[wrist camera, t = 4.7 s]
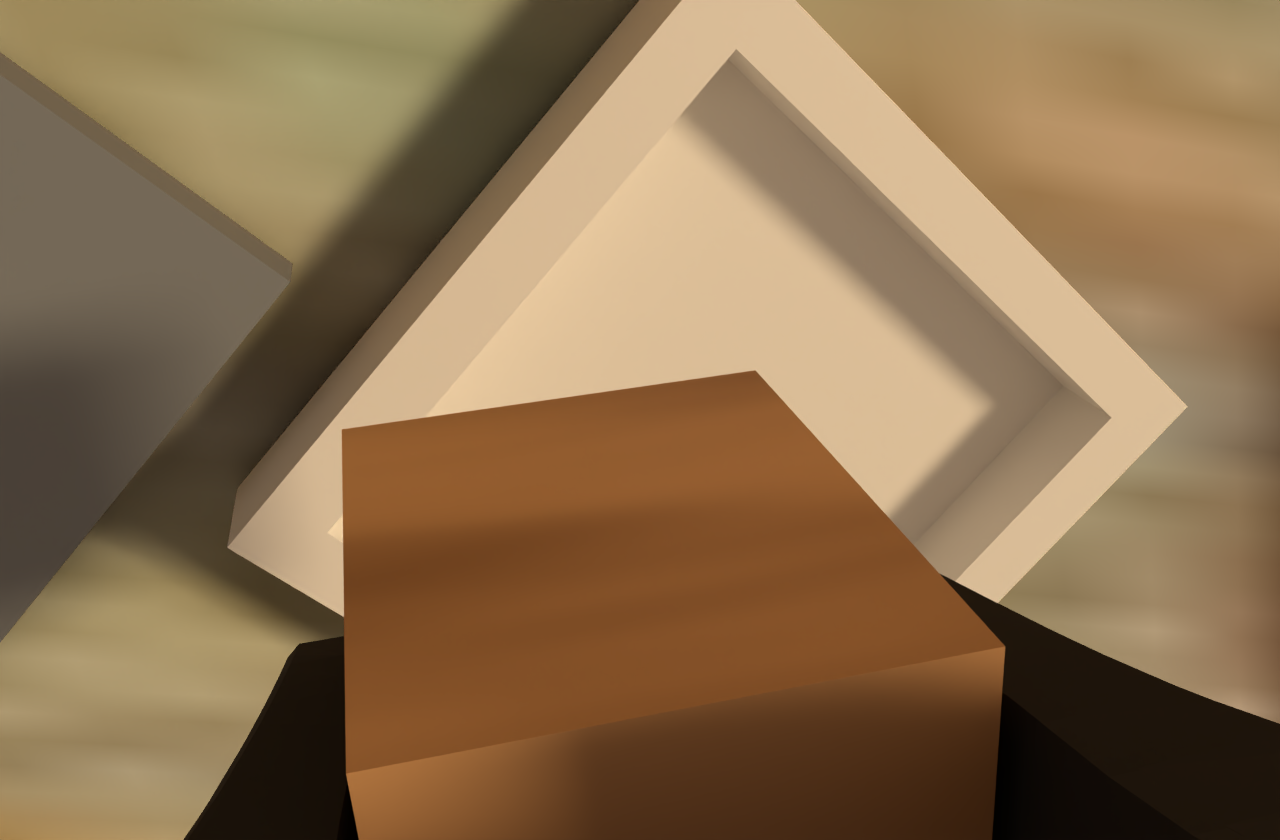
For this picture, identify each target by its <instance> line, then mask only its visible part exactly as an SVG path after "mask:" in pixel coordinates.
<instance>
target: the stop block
mask: <svg viewBox="0 0 1280 840" xmlns="http://www.w3.org/2000/svg"><path fill="white" fill-rule="evenodd" d="M342 498H343V576H344V654H345V733H346V776H347V781H348V786H349V792H350V797H351V802H352V807H353V812H354V817H355V822H356V827H357V832H358V838H359V840H992V832H993V818H994V803H995V789H996V774H997V760H998V745H999V731H1000V716H1001V702H1002V687H1003V673H1004V658H1005V646H1004V644H1003V643H1002V642H1001V641H1000V640H999V639H998V638H997V637H996V636H995V635H994V633H993V632H992V631H991V630H990V629H989V628H988V627H987V626H986V625H985V623H984V622H983V621H982V620H981V619H980V618H979V617H978V616H977V615H976V614H975V612H974V611H973V610H972V609H971V608H970V607H969V606H968V605H967V604H966V602H965V601H964V600H963V599H962V598H961V597H960V596H959V595H958V594H957V593H956V591H955V590H954V589H953V588H952V587H951V586H950V585H949V584H948V583H947V581H946V580H945V579H944V578H943V577H942V576H941V575H940V574H939V573H938V571H937V570H936V569H935V568H934V567H933V566H932V565H931V564H930V563H929V562H928V560H927V559H926V558H925V557H924V556H923V555H922V554H921V553H920V552H919V550H918V549H917V548H916V547H915V546H914V545H913V544H912V543H911V542H910V541H909V539H908V538H907V537H906V536H905V535H904V534H903V533H902V532H901V531H900V529H899V528H898V527H897V526H896V525H895V524H894V523H893V522H892V521H891V520H890V518H889V517H888V516H887V515H886V514H885V513H884V512H883V511H882V510H881V508H880V507H879V506H878V505H877V504H876V503H875V502H874V501H873V500H872V499H871V497H870V496H869V495H868V494H867V493H866V492H865V491H864V490H863V489H862V487H861V486H860V485H859V484H858V483H857V482H856V481H855V480H854V479H853V478H852V476H851V475H850V474H849V473H848V472H847V471H846V470H845V469H844V468H843V466H842V465H841V464H840V463H839V462H838V461H837V460H836V459H835V458H834V457H833V455H832V454H831V453H830V452H829V451H828V450H827V449H826V448H825V447H824V445H823V444H822V443H821V442H820V441H819V440H818V439H817V438H816V437H815V436H814V434H813V433H812V432H811V431H810V430H809V429H808V428H807V427H806V426H805V424H804V423H803V422H802V421H801V420H800V419H799V418H798V417H797V416H796V415H795V413H794V412H793V411H792V410H791V409H790V408H789V407H788V406H787V405H786V403H785V402H784V401H783V400H782V399H781V398H780V397H779V396H778V395H777V393H776V392H775V391H774V390H773V389H772V388H771V387H770V386H769V385H768V384H767V382H766V381H765V380H764V379H763V378H762V377H761V376H760V375H759V374H758V372H757V371H756V370H754V371H747V372H740V373H733V374H726V375H719V376H712V377H705V378H698V379H691V380H684V381H677V382H670V383H663V384H656V385H649V386H642V387H635V388H628V389H621V390H614V391H607V392H600V393H593V394H586V395H579V396H572V397H565V398H558V399H551V400H544V401H537V402H530V403H523V404H516V405H509V406H502V407H495V408H488V409H481V410H474V411H467V412H460V413H453V414H446V415H439V416H432V417H425V418H418V419H411V420H404V421H397V422H390V423H383V424H376V425H369V426H362V427H355V428H348V429H342Z"/></svg>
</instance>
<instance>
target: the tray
mask: <svg viewBox="0 0 1280 840" xmlns="http://www.w3.org/2000/svg"><path fill="white" fill-rule="evenodd" d="M754 370H756V371H757V372H758V374H759V375H760V376H761V377H762V378H763V379H764V380H765V381H766V382H767V384H768V385H769V386H770V387H771V388H772V389H773V390H774V391H775V392H776V393H777V395H778V396H779V397H780V398H781V399H782V400H783V401H784V402H785V403H786V405H787V406H788V407H789V408H790V409H791V410H792V411H793V412H794V413H795V415H796V416H797V417H798V418H799V419H800V420H801V421H802V422H803V423H804V424H805V426H806V427H807V428H808V429H809V430H810V431H811V432H812V433H813V434H814V436H815V437H816V438H817V439H818V440H819V441H820V442H821V443H822V444H823V445H824V447H825V448H826V449H827V450H828V451H829V452H830V453H831V454H832V455H833V457H834V458H835V459H836V460H837V461H838V462H839V463H840V464H841V465H842V466H843V468H844V469H845V470H846V471H847V472H848V473H849V474H850V475H851V476H852V478H853V479H854V480H855V481H856V482H857V483H858V484H859V485H860V486H861V487H862V489H863V490H864V491H865V492H866V493H867V494H868V495H869V496H870V497H871V499H872V500H873V501H874V502H875V503H876V504H877V505H878V506H879V507H880V508H881V510H882V511H883V512H884V513H885V514H886V515H887V516H888V517H889V518H890V520H891V521H892V522H893V523H894V524H895V525H896V526H897V527H898V528H899V529H900V531H901V532H902V533H903V534H904V535H905V536H906V537H907V538H908V539H909V541H910V542H911V543H912V544H913V545H914V546H915V547H916V548H917V549H918V550H919V552H920V553H921V554H922V555H923V556H924V557H925V558H926V559H927V560H928V562H929V563H930V564H931V565H932V566H933V567H934V568H935V569H936V570H937V571H938V573H940V574H942V575H944V576H946V577H948V578H950V579H952V580H954V581H955V582H957V583H959V584H961V585H963V586H965V587H967V588H969V589H971V590H973V591H975V592H977V593H979V594H981V595H983V596H985V597H987V598H988V599H990V600H992V601H994V602H996V603H998V602H999V601H1000V600H1001V599H1002V598H1003V597H1004V596H1005V595H1006V594H1007V593H1008V592H1009V591H1010V590H1011V589H1012V588H1013V587H1014V585H1015V584H1016V583H1017V582H1018V581H1019V580H1020V579H1021V578H1022V577H1023V576H1024V575H1025V574H1026V573H1027V572H1028V571H1029V570H1030V569H1031V568H1032V567H1033V566H1034V565H1035V564H1036V563H1037V562H1038V561H1039V560H1040V559H1041V558H1042V557H1043V555H1044V554H1045V553H1046V552H1047V551H1048V550H1049V549H1050V548H1051V547H1052V546H1053V545H1054V544H1055V543H1056V542H1057V541H1058V540H1059V539H1060V538H1061V537H1062V536H1063V535H1064V534H1065V533H1066V532H1067V531H1068V530H1069V529H1070V528H1071V527H1072V525H1073V524H1074V523H1075V522H1076V521H1077V520H1078V519H1079V518H1080V517H1081V516H1082V515H1083V514H1084V513H1085V512H1086V511H1087V510H1088V509H1089V508H1090V507H1091V506H1092V505H1093V504H1094V503H1095V502H1096V501H1097V500H1098V499H1099V498H1100V497H1101V496H1102V494H1103V493H1104V492H1105V491H1106V490H1107V489H1108V488H1109V487H1110V486H1111V485H1112V484H1113V483H1114V482H1115V481H1116V480H1117V479H1118V478H1119V477H1120V476H1121V475H1122V474H1123V473H1124V472H1125V471H1126V470H1127V469H1128V468H1129V467H1130V466H1131V464H1132V463H1133V462H1134V461H1135V460H1136V459H1137V458H1138V457H1139V456H1140V455H1141V454H1142V453H1143V452H1144V451H1145V450H1146V449H1147V448H1148V447H1149V446H1150V445H1151V444H1152V443H1153V442H1154V441H1155V440H1156V439H1157V438H1158V437H1159V436H1160V434H1161V433H1162V432H1163V431H1164V430H1165V429H1166V428H1167V427H1168V426H1169V425H1170V424H1171V423H1172V422H1173V421H1174V420H1175V419H1176V418H1177V417H1178V416H1179V415H1180V414H1181V413H1182V412H1183V411H1184V410H1185V409H1186V408H1187V406H1186V405H1185V403H1184V402H1183V401H1182V400H1181V399H1180V398H1179V397H1178V396H1177V395H1176V394H1175V393H1174V392H1173V391H1172V390H1171V389H1170V388H1169V387H1168V386H1167V385H1166V384H1165V383H1164V382H1163V381H1162V380H1161V379H1160V378H1159V377H1158V376H1157V374H1156V373H1155V372H1154V371H1153V370H1152V369H1151V368H1150V367H1149V366H1148V365H1147V364H1146V363H1145V362H1144V361H1143V360H1142V359H1141V358H1140V357H1139V356H1138V355H1137V354H1136V353H1135V352H1134V351H1133V350H1132V349H1131V348H1130V346H1129V345H1128V344H1127V343H1126V342H1125V341H1124V340H1123V339H1122V338H1121V337H1120V336H1119V335H1118V334H1117V333H1116V332H1115V331H1114V330H1113V329H1112V328H1111V327H1110V326H1109V325H1108V324H1107V323H1106V322H1105V321H1104V320H1103V319H1102V317H1101V316H1100V315H1099V314H1098V313H1097V312H1096V311H1095V310H1094V309H1093V308H1092V307H1091V306H1090V305H1089V304H1088V303H1087V302H1086V301H1085V300H1084V299H1083V298H1082V297H1081V296H1080V295H1079V294H1078V293H1077V292H1076V291H1075V290H1074V288H1073V287H1072V286H1071V285H1070V284H1069V283H1068V282H1067V281H1066V280H1065V279H1064V278H1063V277H1062V276H1061V275H1060V274H1059V273H1058V272H1057V271H1056V270H1055V269H1054V268H1053V267H1052V266H1051V265H1050V264H1049V263H1048V262H1047V260H1046V259H1045V258H1044V257H1043V256H1042V255H1041V254H1040V253H1039V252H1038V251H1037V250H1036V249H1035V248H1034V247H1033V246H1032V245H1031V244H1030V243H1029V242H1028V241H1027V240H1026V239H1025V238H1024V237H1023V236H1022V235H1021V234H1020V233H1019V231H1018V230H1017V229H1016V228H1015V227H1014V226H1013V225H1012V224H1011V223H1010V222H1009V221H1008V220H1007V219H1006V218H1005V217H1004V216H1003V215H1002V214H1001V213H1000V212H999V211H998V210H997V209H996V208H995V207H994V206H993V205H992V204H991V202H990V201H989V200H988V199H987V198H986V197H985V196H984V195H983V194H982V193H981V192H980V191H979V190H978V189H977V188H976V187H975V186H974V185H973V184H972V183H971V182H970V181H969V180H968V179H967V178H966V177H965V176H964V175H963V173H962V172H961V171H960V170H959V169H958V168H957V167H956V166H955V165H954V164H953V163H952V162H951V161H950V160H949V159H948V158H947V157H946V156H945V155H944V154H943V153H942V152H941V151H940V150H939V149H938V148H937V147H936V145H935V144H934V143H933V142H932V141H931V140H930V139H929V138H928V137H927V136H926V135H925V134H924V133H923V132H922V131H921V130H920V129H919V128H918V127H917V126H916V125H915V124H914V123H913V122H912V121H911V120H910V119H909V118H908V116H907V115H906V114H905V113H904V112H903V111H902V110H901V109H900V108H899V107H898V106H897V105H896V104H895V103H894V102H893V101H892V100H891V99H890V98H889V97H888V96H887V95H886V94H885V93H884V92H883V91H882V90H881V89H880V87H879V86H878V85H877V84H876V83H875V82H874V81H873V80H872V79H871V78H870V77H869V76H868V75H867V74H866V73H865V72H864V71H863V70H862V69H861V68H860V67H859V66H858V65H857V64H856V63H855V62H854V61H853V59H852V58H851V57H850V56H849V55H848V54H847V53H846V52H845V51H844V50H843V49H842V48H841V47H840V46H839V45H838V44H837V43H836V42H835V41H834V40H833V39H832V38H831V37H830V36H829V35H828V34H827V33H826V32H825V30H824V29H823V28H822V27H821V26H820V25H819V24H818V23H817V22H816V21H815V20H814V19H813V18H812V17H811V16H810V15H809V14H808V13H807V12H806V11H805V10H804V9H803V8H802V7H801V6H800V5H799V4H798V3H797V1H796V0H639V1H638V3H637V4H636V5H635V6H634V7H633V9H632V10H631V11H630V12H629V14H628V15H627V16H626V17H625V18H624V20H623V21H622V22H621V23H620V24H619V26H618V27H617V28H616V29H615V31H614V32H613V33H612V34H611V35H610V37H609V38H608V39H607V40H606V41H605V43H604V44H603V45H602V46H601V48H600V49H599V50H598V51H597V52H596V54H595V55H594V56H593V57H592V58H591V60H590V61H589V62H588V63H587V65H586V66H585V67H584V68H583V69H582V71H581V72H580V73H579V74H578V75H577V77H576V78H575V79H574V80H573V82H572V83H571V84H570V85H569V86H568V88H567V89H566V90H565V91H564V92H563V94H562V95H561V96H560V97H559V99H558V100H557V101H556V102H555V103H554V105H553V106H552V107H551V108H550V109H549V111H548V112H547V113H546V114H545V116H544V117H543V118H542V119H541V120H540V122H539V123H538V124H537V125H536V126H535V128H534V129H533V130H532V131H531V133H530V134H529V135H528V136H527V137H526V139H525V140H524V141H523V142H522V143H521V145H520V146H519V147H518V148H517V149H516V151H515V152H514V153H513V154H512V156H511V157H510V158H509V159H508V160H507V162H506V163H505V164H504V165H503V166H502V168H501V169H500V170H499V171H498V173H497V174H496V175H495V176H494V177H493V179H492V180H491V181H490V182H489V183H488V185H487V186H486V187H485V188H484V190H483V191H482V192H481V193H480V194H479V196H478V197H477V198H476V199H475V200H474V202H473V203H472V204H471V205H470V207H469V208H468V209H467V210H466V211H465V213H464V214H463V215H462V216H461V217H460V219H459V220H458V221H457V222H456V224H455V225H454V226H453V227H452V228H451V230H450V231H449V232H448V233H447V234H446V236H445V237H444V238H443V239H442V241H441V242H440V243H439V244H438V245H437V247H436V248H435V249H434V250H433V251H432V253H431V254H430V255H429V256H428V258H427V259H426V260H425V261H424V262H423V264H422V265H421V266H420V267H419V268H418V270H417V271H416V272H415V273H414V275H413V276H412V277H411V278H410V279H409V281H408V282H407V283H406V284H405V285H404V287H403V288H402V289H401V290H400V292H399V293H398V294H397V295H396V296H395V298H394V299H393V300H392V301H391V302H390V304H389V305H388V306H387V307H386V309H385V310H384V311H383V312H382V313H381V315H380V316H379V317H378V318H377V319H376V321H375V322H374V323H373V324H372V326H371V327H370V328H369V329H368V330H367V332H366V333H365V334H364V335H363V336H362V338H361V339H360V340H359V341H358V342H357V344H356V345H355V346H354V347H353V349H352V350H351V351H350V352H349V353H348V355H347V356H346V357H345V358H344V359H343V361H342V362H341V363H340V364H339V366H338V367H337V368H336V369H335V370H334V372H333V373H332V374H331V375H330V376H329V378H328V379H327V380H326V381H325V383H324V384H323V385H322V386H321V387H320V389H319V390H318V391H317V392H316V393H315V395H314V396H313V397H312V398H311V400H310V401H309V402H308V403H307V404H306V406H305V407H304V408H303V409H302V410H301V412H300V413H299V414H298V415H297V417H296V418H295V419H294V420H293V421H292V423H291V424H290V425H289V426H288V427H287V429H286V430H285V431H284V432H283V434H282V435H281V436H280V437H279V438H278V440H277V441H276V442H275V443H274V444H273V446H272V447H271V448H270V449H269V451H268V452H267V453H266V454H265V455H264V457H263V458H262V459H261V460H260V461H259V463H258V464H257V465H256V466H255V468H254V469H253V470H252V471H251V472H250V474H249V475H248V476H247V477H246V478H245V480H244V481H243V482H242V483H241V485H240V486H239V487H238V488H237V492H236V498H235V504H234V510H233V516H232V522H231V528H230V534H229V540H228V546H227V548H228V549H230V550H232V551H233V552H235V553H237V554H238V555H240V556H242V557H244V558H245V559H247V560H249V561H250V562H252V563H254V564H255V565H257V566H259V567H260V568H262V569H264V570H265V571H267V572H269V573H270V574H272V575H274V576H276V577H277V578H279V579H281V580H282V581H284V582H286V583H287V584H289V585H291V586H292V587H294V588H296V589H297V590H299V591H301V592H302V593H304V594H306V595H308V596H309V597H311V598H313V599H314V600H316V601H318V602H319V603H321V604H323V605H324V606H326V607H328V608H329V609H331V610H333V611H335V612H336V613H338V614H340V615H341V616H343V617H344V576H343V498H342V429H348V428H355V427H362V426H369V425H376V424H383V423H390V422H397V421H404V420H411V419H418V418H425V417H432V416H439V415H446V414H453V413H460V412H467V411H474V410H481V409H488V408H495V407H502V406H509V405H516V404H523V403H530V402H537V401H544V400H551V399H558V398H565V397H572V396H579V395H586V394H593V393H600V392H607V391H614V390H621V389H628V388H635V387H642V386H649V385H656V384H663V383H670V382H677V381H684V380H691V379H698V378H705V377H712V376H719V375H726V374H733V373H740V372H747V371H754Z"/></svg>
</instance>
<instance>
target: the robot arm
mask: <svg viewBox="0 0 1280 840" xmlns="http://www.w3.org/2000/svg"><path fill="white" fill-rule="evenodd" d="M939 574H940V573H939ZM940 575H941V576H942V577H943V578H944V579H945V580H946V581H947V583H948V584H949V585H950V586H951V587H952V588H953V589H954V590H955V591H956V593H957V594H958V595H959V596H960V597H961V598H962V599H963V600H964V601H965V602H966V604H967V605H968V606H969V607H970V608H971V609H972V610H973V611H974V612H975V614H976V615H977V616H978V617H979V618H980V619H981V620H982V621H983V622H984V623H985V625H986V626H987V627H988V628H989V629H990V630H991V631H992V632H993V633H994V635H995V636H996V637H997V638H998V639H999V640H1000V641H1001V642H1002V643H1003V644H1004V646H1005V658H1004V673H1003V687H1002V702H1001V716H1000V731H999V745H998V760H997V774H996V789H995V803H994V818H993V832H992V840H1280V724H1279V723H1276V722H1273V721H1270V720H1267V719H1264V718H1262V717H1259V716H1256V715H1253V714H1250V713H1247V712H1244V711H1242V710H1239V709H1236V708H1233V707H1230V706H1227V705H1225V704H1222V703H1219V702H1216V701H1213V700H1211V699H1208V698H1206V697H1203V696H1200V695H1198V694H1195V693H1193V692H1190V691H1188V690H1185V689H1183V688H1180V687H1178V686H1175V685H1173V684H1170V683H1168V682H1166V681H1163V680H1161V679H1159V678H1156V677H1154V676H1152V675H1149V674H1147V673H1145V672H1142V671H1140V670H1138V669H1135V668H1133V667H1131V666H1129V665H1126V664H1124V663H1122V662H1119V661H1117V660H1115V659H1112V658H1110V657H1108V656H1105V655H1103V654H1101V653H1099V652H1097V651H1095V650H1092V649H1090V648H1088V647H1086V646H1084V645H1082V644H1080V643H1077V642H1075V641H1073V640H1071V639H1069V638H1067V637H1065V636H1063V635H1061V634H1059V633H1056V632H1054V631H1052V630H1050V629H1048V628H1046V627H1044V626H1042V625H1040V624H1038V623H1036V622H1034V621H1032V620H1030V619H1028V618H1026V617H1024V616H1022V615H1020V614H1018V613H1016V612H1014V611H1012V610H1010V609H1008V608H1006V607H1004V606H1002V605H1000V604H998V603H996V602H994V601H992V600H990V599H988V598H987V597H985V596H983V595H981V594H979V593H977V592H975V591H973V590H971V589H969V588H967V587H965V586H963V585H961V584H959V583H957V582H955V581H954V580H952V579H950V578H948V577H946V576H944V575H942V574H940ZM184 840H359V838H358V832H357V827H356V822H355V817H354V812H353V807H352V802H351V797H350V792H349V786H348V781H347V776H346V733H345V654H344V636H343V637H337V638H331V639H325V640H319V641H313V642H308V643H302V644H299V645H298V646H297V647H296V648H295V650H294V651H293V652H292V653H291V654H290V656H289V657H288V658H287V660H286V663H285V665H284V667H283V669H282V671H281V674H280V676H279V678H278V680H277V682H276V684H275V686H274V688H273V690H272V692H271V694H270V696H269V698H268V700H267V702H266V704H265V706H264V708H263V709H262V711H261V713H260V715H259V717H258V719H257V721H256V722H255V724H254V726H253V728H252V730H251V732H250V733H249V735H248V737H247V739H246V741H245V742H244V744H243V746H242V748H241V749H240V751H239V753H238V754H237V756H236V758H235V759H234V761H233V763H232V764H231V766H230V768H229V769H228V771H227V773H226V774H225V776H224V778H223V779H222V781H221V783H220V784H219V786H218V788H217V789H216V791H215V793H214V794H213V796H212V798H211V799H210V801H209V802H208V804H207V806H206V807H205V809H204V810H203V812H202V813H201V815H200V816H199V818H198V819H197V821H196V822H195V824H194V825H193V827H192V828H191V830H190V831H189V832H188V834H187V835H186V837H185V838H184Z"/></svg>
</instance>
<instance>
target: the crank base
mask: <svg viewBox="0 0 1280 840" xmlns="http://www.w3.org/2000/svg"><path fill="white" fill-rule="evenodd" d="M291 272H292V263H291V262H290V261H288V260H287V259H285V258H284V257H283V256H281V255H280V254H279V253H277V252H276V251H274V250H273V249H272V248H270V247H269V246H267V245H266V244H265V243H263V242H262V241H261V240H259V239H258V238H256V237H255V236H254V235H252V234H251V233H249V232H248V231H247V230H245V229H244V228H243V227H241V226H240V225H238V224H237V223H236V222H234V221H233V220H231V219H230V218H229V217H227V216H226V215H225V214H223V213H222V212H220V211H219V210H218V209H216V208H215V207H213V206H212V205H211V204H209V203H208V202H207V201H205V200H204V199H202V198H201V197H200V196H198V195H197V194H195V193H194V192H193V191H191V190H190V189H189V188H187V187H186V186H184V185H183V184H182V183H180V182H179V181H177V180H176V179H175V178H173V177H172V176H171V175H169V174H168V173H166V172H165V171H164V170H162V169H161V168H160V167H158V166H157V165H155V164H154V163H153V162H151V161H150V160H148V159H147V158H146V157H144V156H143V155H142V154H140V153H139V152H137V151H136V150H135V149H133V148H132V147H130V146H129V145H128V144H126V143H125V142H124V141H122V140H121V139H119V138H118V137H117V136H115V135H114V134H112V133H111V132H110V131H108V130H107V129H106V128H104V127H103V126H101V125H100V124H99V123H97V122H96V121H94V120H93V119H92V118H90V117H89V116H88V115H86V114H85V113H83V112H82V111H81V110H79V109H78V108H76V107H75V106H74V105H72V104H71V103H70V102H68V101H67V100H65V99H64V98H63V97H61V96H60V95H58V94H57V93H56V92H54V91H53V90H52V89H50V88H49V87H47V86H46V85H45V84H43V83H42V82H40V81H39V80H38V79H36V78H35V77H34V76H32V75H31V74H29V73H28V72H27V71H25V70H24V69H22V68H21V67H20V66H18V65H17V64H16V63H14V62H13V61H11V60H10V59H9V58H7V57H6V56H5V55H3V54H2V53H0V642H1V641H2V639H3V638H4V637H5V636H6V634H7V633H8V632H9V631H10V630H11V628H12V627H13V626H14V625H15V623H16V622H17V621H18V620H19V618H20V617H21V616H22V615H23V613H24V612H25V611H26V610H27V608H28V607H29V606H30V605H31V603H32V602H33V601H34V600H35V598H36V597H37V596H38V595H39V594H40V592H41V591H42V590H43V589H44V587H45V586H46V585H47V584H48V582H49V581H50V580H51V579H52V577H53V576H54V575H55V574H56V572H57V571H58V570H59V569H60V567H61V566H62V565H63V564H64V562H65V561H66V560H67V559H68V557H69V556H70V555H71V554H72V553H73V551H74V550H75V549H76V548H77V546H78V545H79V544H80V543H81V541H82V540H83V539H84V538H85V536H86V535H87V534H88V533H89V531H90V530H91V529H92V528H93V526H94V525H95V524H96V523H97V521H98V520H99V519H100V518H101V517H102V515H103V514H104V513H105V512H106V510H107V509H108V508H109V507H110V505H111V504H112V503H113V502H114V500H115V499H116V498H117V497H118V495H119V494H120V493H121V492H122V490H123V489H124V488H125V487H126V485H127V484H128V483H129V482H130V481H131V479H132V478H133V477H134V476H135V474H136V473H137V472H138V471H139V469H140V468H141V467H142V466H143V464H144V463H145V462H146V461H147V459H148V458H149V457H150V456H151V454H152V453H153V452H154V451H155V449H156V448H157V447H158V446H159V444H160V443H161V442H162V441H163V440H164V438H165V437H166V436H167V435H168V433H169V432H170V431H171V430H172V428H173V427H174V426H175V425H176V423H177V422H178V421H179V420H180V418H181V417H182V416H183V415H184V413H185V412H186V411H187V410H188V408H189V407H190V406H191V405H192V404H193V402H194V401H195V400H196V399H197V397H198V396H199V395H200V394H201V392H202V391H203V390H204V389H205V387H206V386H207V385H208V384H209V382H210V381H211V380H212V379H213V377H214V376H215V375H216V374H217V372H218V371H219V370H220V369H221V367H222V366H223V365H224V364H225V363H226V361H227V360H228V359H229V358H230V356H231V355H232V354H233V353H234V351H235V350H236V349H237V348H238V346H239V345H240V344H241V343H242V341H243V340H244V339H245V338H246V336H247V335H248V334H249V333H250V331H251V330H252V329H253V328H254V327H255V325H256V324H257V323H258V322H259V320H260V319H261V318H262V317H263V315H264V314H265V313H266V312H267V310H268V309H269V308H270V307H271V305H272V304H273V303H274V302H275V300H276V299H277V298H278V297H279V295H280V294H281V293H282V292H283V290H284V289H285V288H286V287H287V286H288V284H289V283H290V281H291Z"/></svg>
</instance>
